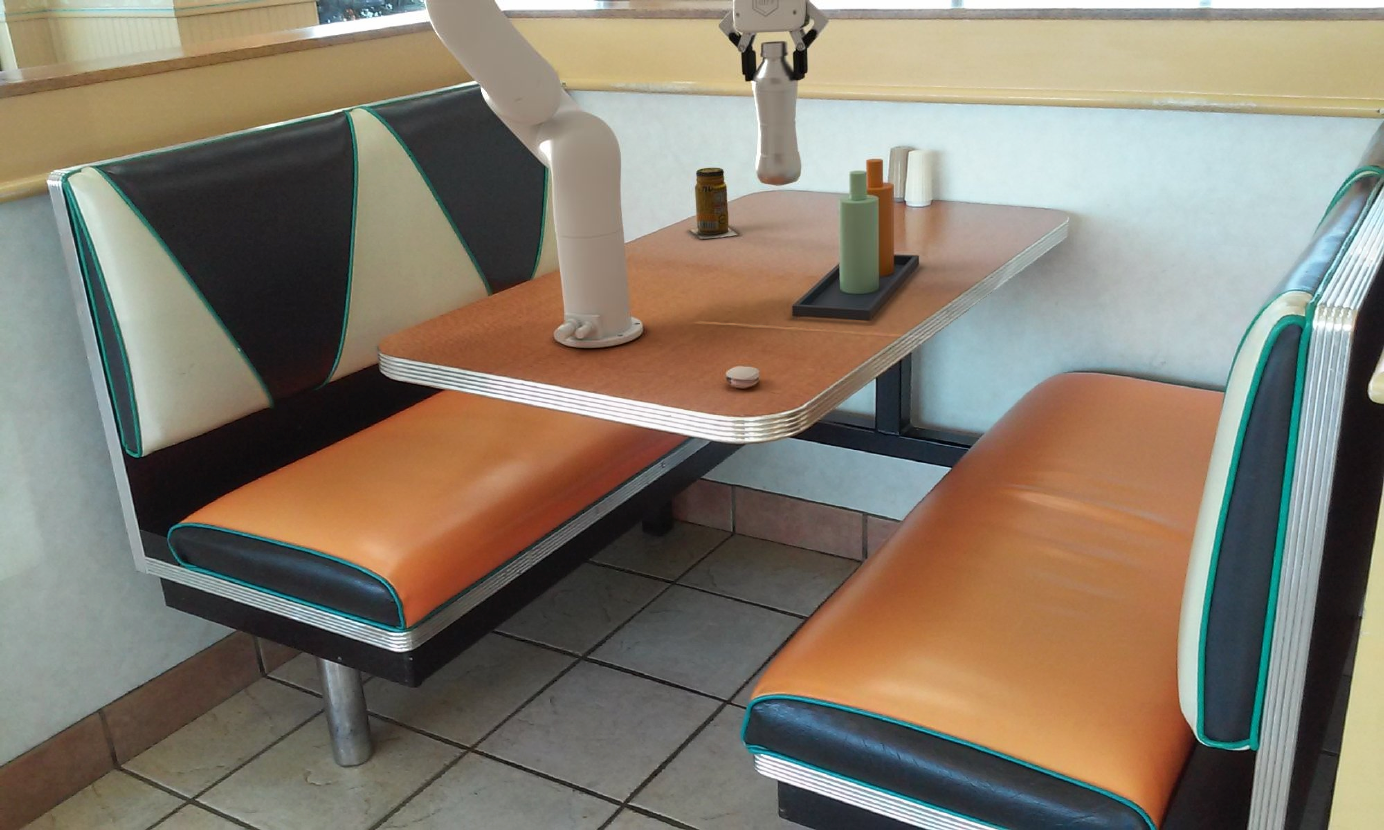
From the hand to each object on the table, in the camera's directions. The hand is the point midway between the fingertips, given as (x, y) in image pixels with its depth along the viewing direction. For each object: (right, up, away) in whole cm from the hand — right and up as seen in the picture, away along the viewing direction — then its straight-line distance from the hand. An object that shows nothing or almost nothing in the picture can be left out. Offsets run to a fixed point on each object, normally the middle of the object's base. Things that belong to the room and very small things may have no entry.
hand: (775, 78), depth 166 cm
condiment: (-8, -13, +59) cm, 60 cm away
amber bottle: (+18, -25, +24) cm, 39 cm away
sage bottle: (+14, -28, +16) cm, 35 cm away
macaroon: (-5, -44, -18) cm, 48 cm away
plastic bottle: (+1, -14, +6) cm, 15 cm away
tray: (+14, -29, +16) cm, 36 cm away
